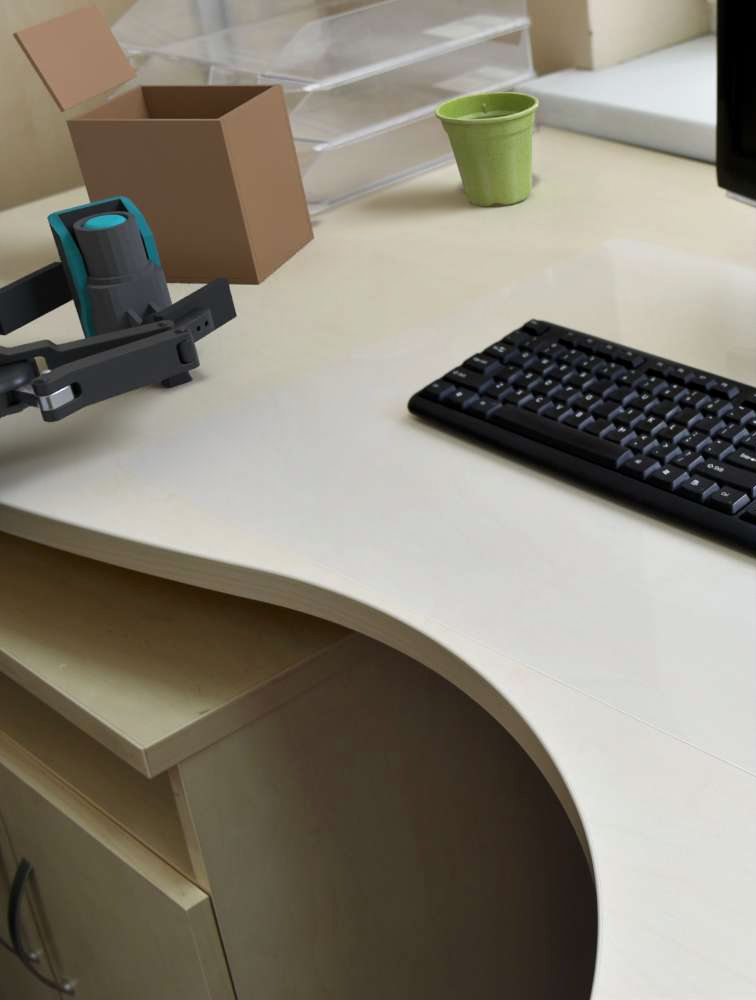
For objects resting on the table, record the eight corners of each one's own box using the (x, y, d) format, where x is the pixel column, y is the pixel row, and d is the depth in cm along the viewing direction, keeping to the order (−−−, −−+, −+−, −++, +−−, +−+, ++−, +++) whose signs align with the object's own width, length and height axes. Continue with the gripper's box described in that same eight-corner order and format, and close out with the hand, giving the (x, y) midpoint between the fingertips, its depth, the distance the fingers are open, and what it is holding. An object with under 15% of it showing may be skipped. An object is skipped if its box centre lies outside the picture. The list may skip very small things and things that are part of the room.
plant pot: (496, 220, 124) (482, 124, 120) (428, 202, 129) (413, 109, 125) (569, 192, 130) (559, 100, 126) (502, 175, 136) (490, 86, 131)
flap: (65, 110, 107) (61, 112, 108) (138, 76, 117) (134, 77, 117) (15, 32, 105) (12, 34, 105) (94, 3, 114) (90, 4, 114)
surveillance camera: (101, 248, 86) (43, 215, 92) (152, 419, 92) (94, 377, 98) (187, 224, 89) (125, 194, 96) (231, 391, 95) (170, 352, 102)
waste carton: (113, 282, 115) (65, 120, 108) (178, 236, 124) (138, 84, 117) (259, 284, 113) (220, 120, 106) (314, 237, 122) (282, 84, 115)
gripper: (-247, 460, 83) (17, 322, 100) (87, 516, 75) (311, 356, 92) (-301, 346, 79) (-16, 222, 96) (46, 393, 71) (287, 250, 89)
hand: (145, 288), depth 94 cm, fingers open, 13 cm apart
